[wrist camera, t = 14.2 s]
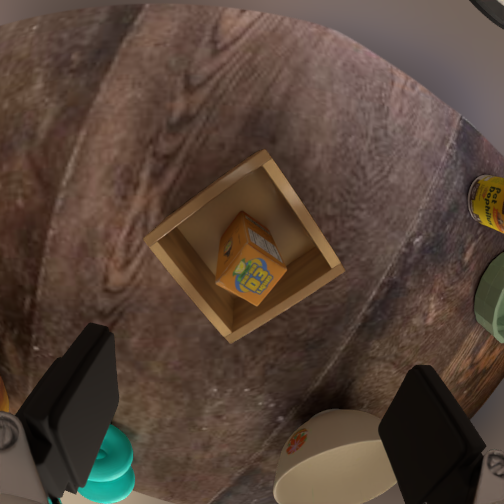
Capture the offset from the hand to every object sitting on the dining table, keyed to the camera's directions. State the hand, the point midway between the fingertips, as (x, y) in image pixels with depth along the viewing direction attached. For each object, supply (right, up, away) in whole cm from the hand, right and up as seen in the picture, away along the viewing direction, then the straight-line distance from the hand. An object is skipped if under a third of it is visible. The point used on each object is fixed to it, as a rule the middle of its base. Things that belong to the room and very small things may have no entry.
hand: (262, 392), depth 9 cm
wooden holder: (-1, +6, +20) cm, 21 cm away
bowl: (+10, -18, +28) cm, 35 cm away
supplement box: (-1, +6, +20) cm, 21 cm away
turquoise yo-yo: (-21, -23, +29) cm, 43 cm away
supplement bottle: (+25, +10, +20) cm, 34 cm away
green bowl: (+32, -1, +23) cm, 40 cm away
